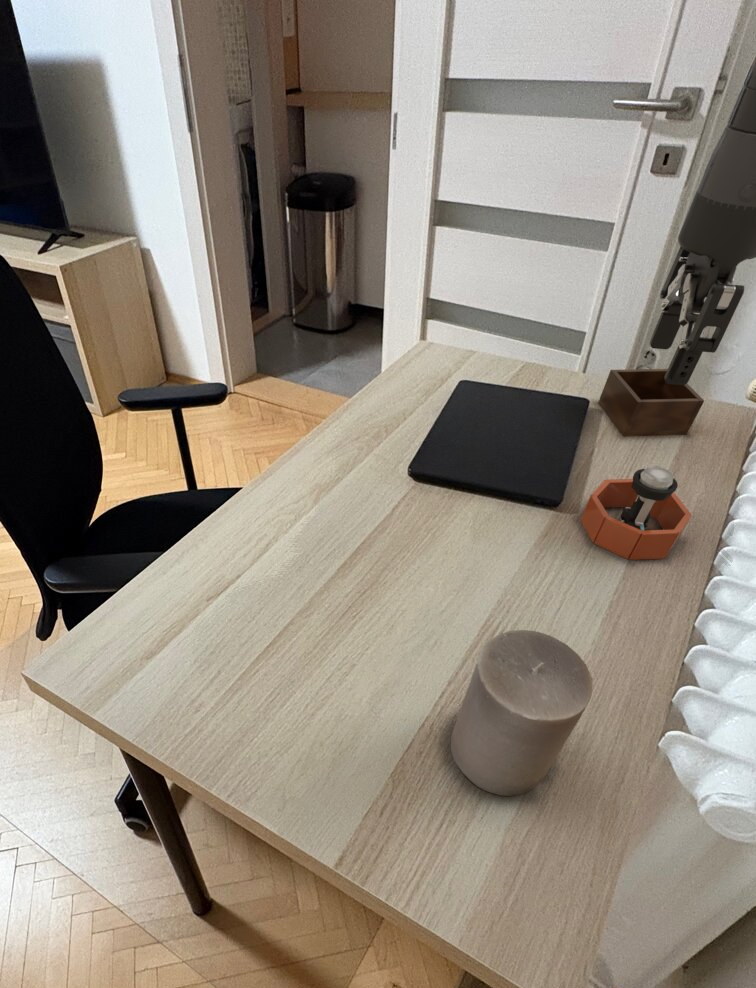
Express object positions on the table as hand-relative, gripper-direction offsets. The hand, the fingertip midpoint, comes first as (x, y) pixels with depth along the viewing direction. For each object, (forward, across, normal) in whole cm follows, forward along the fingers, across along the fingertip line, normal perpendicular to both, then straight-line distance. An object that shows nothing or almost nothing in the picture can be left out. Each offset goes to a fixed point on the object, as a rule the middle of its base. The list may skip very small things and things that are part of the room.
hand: (666, 364), depth 67 cm
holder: (+25, +35, -13) cm, 45 cm away
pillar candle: (+25, -36, +13) cm, 46 cm away
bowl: (+25, +3, -6) cm, 26 cm away
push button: (+25, +3, -6) cm, 26 cm away
